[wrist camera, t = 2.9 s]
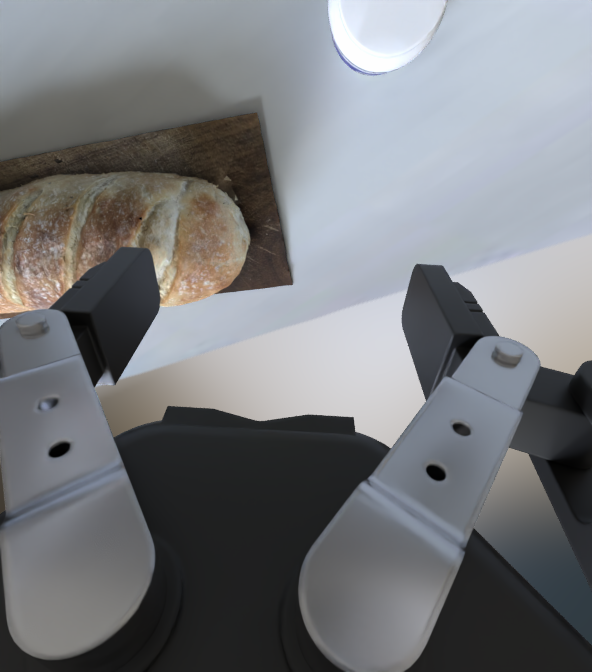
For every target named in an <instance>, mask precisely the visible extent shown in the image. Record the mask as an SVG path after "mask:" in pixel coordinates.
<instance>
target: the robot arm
mask: <svg viewBox="0 0 592 672" xmlns="http://www.w3.org/2000/svg"><path fill="white" fill-rule="evenodd" d="M159 307H160V292H159V287H158V282H157V277H156V272H155V267H154V262H153V257H152V254H151V251H150V250H149V249H148V248H137V247H120V248H119V249H118V250H117V251H116V252H115V253H114V254H113V255H112V256H111V257H110V258H109V259H108V260H107V262H102V263H100V264H98V265H96V266H94V267H92V268H90V269H89V270H88V271H87V272H86V273H84V274H83V275H82V276H81V277H80V278H79V280H77V281H76V282H75V283H74V284H73V285H72V288H69V289H68V290H67V291H66V292H65V293H64V294H63V295H62V296H61V297H60V298H59V299H58V300H57V301H56V302H55V303H54V304H53V305H52V306H51V307H50V308H49V309H38V310H32V311H28V312H24V313H21V314H19V315H16V316H14V317H12V318H10V319H9V320H7V321H6V322H4V323H3V324H2V325H1V326H0V458H1V468H2V477H3V486H4V496H5V504H6V510H5V511H4V512H2V513H1V514H0V672H592V645H591V644H590V643H589V642H588V641H587V640H586V639H585V638H584V637H582V635H581V634H580V633H579V632H578V631H577V630H576V629H574V628H573V627H572V625H570V624H569V622H567V620H565V619H564V617H563V616H562V615H560V613H558V611H557V610H556V609H554V607H553V606H551V605H550V604H549V603H548V602H547V601H546V600H545V599H544V598H543V597H542V596H541V595H540V594H539V593H538V592H537V591H536V590H535V589H534V588H533V587H532V586H531V585H530V584H529V583H528V582H527V581H526V580H525V579H524V578H523V577H522V576H521V575H520V574H519V573H518V572H517V571H516V570H515V569H514V568H513V567H512V566H511V565H510V564H509V563H508V562H507V561H506V560H505V559H504V558H503V557H502V556H501V555H500V554H499V553H498V552H497V551H496V550H495V549H494V548H493V547H492V546H491V545H490V544H489V543H488V542H487V541H486V540H485V539H484V538H483V537H482V536H481V535H480V534H479V533H478V532H477V531H476V530H475V529H474V526H475V523H476V521H477V519H478V516H479V514H480V512H481V509H482V507H483V505H484V503H485V500H486V498H487V496H488V493H489V491H490V488H491V486H492V484H493V482H494V480H495V477H496V475H497V473H498V470H499V468H500V466H501V463H502V461H503V459H504V457H505V454H506V452H507V450H508V448H512V449H515V450H519V451H522V452H525V453H528V454H529V456H530V458H531V460H532V463H533V465H534V467H535V469H536V471H537V474H538V476H539V478H540V480H541V482H542V484H543V486H544V489H545V491H546V493H547V495H548V497H549V500H550V501H551V504H552V506H553V508H554V510H555V513H556V515H557V517H558V519H559V521H560V523H561V525H562V528H563V530H564V532H565V534H566V536H567V538H568V541H569V543H570V545H571V547H572V549H573V551H574V554H575V556H576V558H577V560H578V562H579V564H580V567H581V569H582V571H583V573H584V575H585V577H586V579H587V582H588V584H589V586H590V588H591V590H592V361H587V362H584V363H583V364H582V365H581V366H580V368H579V369H578V371H577V372H576V373H575V375H571V374H567V373H563V372H560V371H555V370H552V369H548V368H544V367H541V366H540V360H539V358H538V357H537V355H536V354H535V353H534V352H533V351H532V350H531V349H529V348H528V347H526V346H525V345H523V344H521V343H519V342H517V341H515V340H512V339H509V338H505V337H500V336H499V335H498V333H497V332H496V330H495V328H494V327H493V325H492V324H491V322H490V321H489V319H488V318H487V316H486V314H485V313H483V310H482V308H481V307H480V305H479V304H477V301H476V299H475V298H474V296H473V294H472V293H471V292H470V291H469V290H468V289H466V288H465V287H463V286H462V285H461V284H459V283H458V282H452V280H451V278H450V277H449V275H448V273H447V272H446V270H445V268H444V267H443V266H442V265H426V264H416V265H415V267H414V269H413V272H412V275H411V279H410V283H409V287H408V291H407V294H406V298H405V302H404V306H403V310H402V327H403V330H404V333H405V337H406V340H407V343H408V346H409V349H410V352H411V355H412V358H413V362H414V365H415V368H416V371H417V374H418V377H419V380H420V383H421V387H422V390H423V392H424V396H425V399H426V402H425V404H424V405H423V406H422V408H421V409H420V410H419V412H418V413H417V414H416V416H415V417H414V418H413V420H412V421H411V423H410V424H409V425H408V426H407V428H406V429H405V430H404V432H403V433H402V435H401V436H400V438H399V439H398V440H397V441H396V443H395V444H394V445H393V447H392V448H389V447H388V446H386V445H385V444H383V443H381V442H379V441H377V440H375V439H373V438H371V437H368V436H366V435H363V434H361V433H357V432H355V426H354V418H353V417H339V416H323V415H302V416H295V417H288V418H282V419H274V420H268V421H255V420H251V419H248V418H244V417H241V416H237V415H233V414H230V413H226V412H223V411H219V410H216V409H208V408H191V407H175V406H168V407H167V409H166V412H165V414H164V417H163V419H162V421H156V422H151V423H147V424H144V425H141V426H138V427H135V428H132V429H130V430H128V431H126V432H123V433H121V434H120V435H118V436H116V437H113V435H112V432H111V429H110V427H109V424H108V422H107V419H106V416H105V414H104V411H103V409H102V406H101V404H100V401H99V398H98V396H97V393H96V391H95V388H94V387H95V386H96V384H102V385H116V383H117V381H118V380H119V378H120V376H121V374H122V373H123V371H124V369H125V368H126V366H127V364H128V363H129V361H130V359H131V357H132V356H133V354H134V352H135V351H136V349H137V347H138V346H139V344H140V342H141V341H142V339H143V337H144V335H145V334H146V332H147V330H148V329H149V327H150V325H151V324H152V322H153V320H154V319H155V317H156V315H157V313H158V311H159Z"/></svg>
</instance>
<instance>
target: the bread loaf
mask: <svg viewBox="0 0 592 672" xmlns="http://www.w3.org/2000/svg"><path fill="white" fill-rule="evenodd" d="M48 183H51V184H48ZM107 184H108V186H107ZM70 197H73V198H70ZM66 205H67V207H66ZM25 206H26V207H25ZM140 217H142V221H141V220H140V219H139V218H140ZM17 232H18V233H17ZM120 247H137V248H148V249H149V250H150V251H151V254H152V257H153V262H154V267H155V272H156V277H157V282H158V287H159V292H160V306H164V307H170V306H180V305H183V304H187V303H191V302H195V301H199V300H201V299H204V298H207V297H209V296H211V295H213V294H218V293H226V292H236V291H244V290H253V289H262V288H270V287H277V286H284V285H293V284H292V280H291V276H290V271H289V267H288V264H287V259H286V252H285V244H284V239H283V235H282V231H281V227H280V220H279V215H278V211H277V206H276V202H275V198H274V193H273V189H272V184H271V178H270V173H269V169H268V165H267V159H266V153H265V148H264V143H263V139H262V135H261V129H260V123H259V119H258V115H257V113H252V114H246V115H240V116H235V117H229V118H224V119H220V120H213V121H208V122H203V123H197V124H192V125H187V126H182V127H176V128H171V129H166V130H160V131H155V132H150V133H145V134H140V135H136V136H130V137H125V138H121V139H117V140H112V141H106V142H100V143H94V144H88V145H82V146H77V147H72V148H68V149H64V150H60V151H55V152H48V153H43V154H39V155H34V156H29V157H23V158H17V159H12V160H8V161H3V162H0V319H5V318H12V317H14V316H16V315H19V314H21V313H24V312H28V311H32V310H38V309H49V308H50V307H51V306H52V305H53V304H54V303H55V302H56V301H57V300H58V299H59V298H60V297H61V296H62V295H63V294H64V293H65V292H66V291H67V290H68V289H69V288H72V285H73V284H74V283H75V282H76V281H77V280H79V278H80V277H81V276H82V275H83V274H84V273H86V272H87V271H88V270H89V269H90V268H92V267H94V266H96V265H98V264H100V263H102V262H107V260H108V259H109V258H110V257H111V256H112V255H113V254H114V253H115V252H116V251H117V250H118V249H119V248H120ZM170 257H171V258H170ZM169 259H170V260H169Z"/></svg>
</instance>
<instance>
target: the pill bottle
mask: <svg viewBox="0 0 592 672" xmlns="http://www.w3.org/2000/svg"><path fill="white" fill-rule="evenodd" d="M447 2H448V0H328V16H329V24H330V29H331V33H332V38H333V42H334V45H335V48H336V50H337V52H338V54H339V56H340V57H341V59H342V60H343V61H344V62H345V63H346V65H347V66H349V67H350V68H351V69H353V70H354V71H356V72H358V73H361V74H364V75H371V76H374V75H381V74H385V73H387V72H390V71H393V70H396V69H399V68H401V67H403V66H405V65H406V64H408V63H409V62H411V61H412V60H413V59H415V58H416V57H417V56H418V55H419V54H420V53H421V52H422V51H423V50H424V49H425V48H426V46H427V45H428V44H429V42H430V41H431V40H432V38H433V36H434V35H435V33H436V31H437V29H438V27H439V25H440V23H441V21H442V18H443V15H444V12H445V9H446V5H447Z"/></svg>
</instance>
